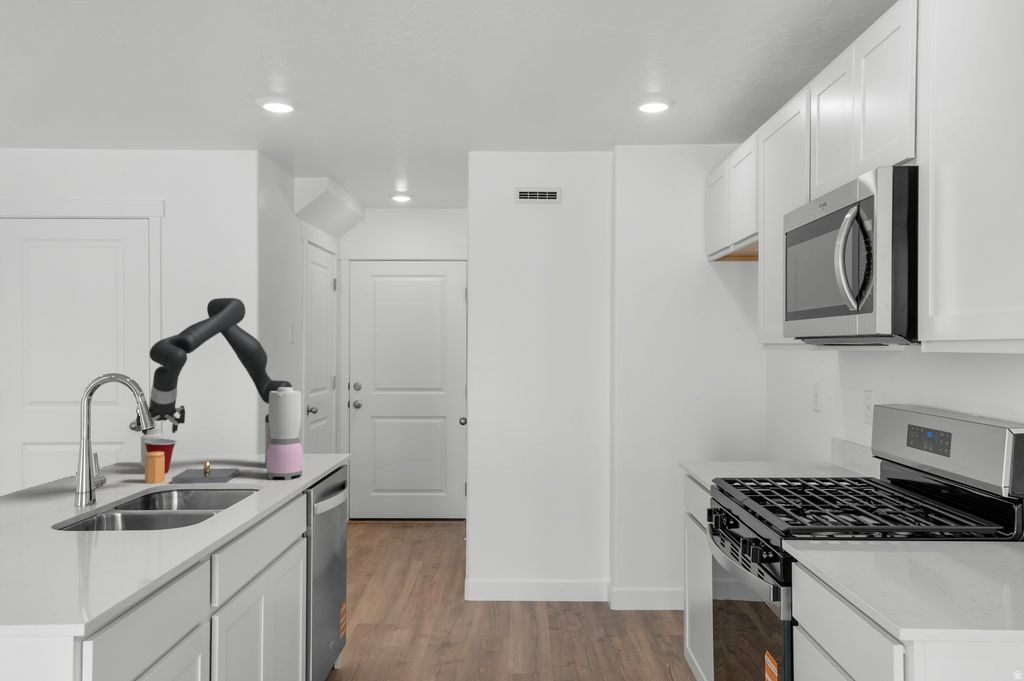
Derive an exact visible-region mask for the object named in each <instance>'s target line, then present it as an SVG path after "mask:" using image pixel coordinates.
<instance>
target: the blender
mask: <svg viewBox="0 0 1024 681" xmlns="http://www.w3.org/2000/svg"><path fill="white" fill-rule="evenodd" d="M302 404H303V403H302V392H301V391H300V390H294V387H293V386H292V387H281V388H278V391H271V392H270V393H269V404H268V414H269V427H270V432H271V442H270V444H269V446H268V449H267V467H266V475H267V478H268V480H271V481H272V480H274V477H275V478H276V477H277V478H279V477H280V478H282V477H283V478H284V480H285V481H290V480H291V479H292V477H294V476H302V474H303V446H302V443H301V442H300V437H299V436H300V431H301V424H302V410H303V408H302Z"/></svg>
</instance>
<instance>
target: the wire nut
mask: <svg viewBox="0 0 1024 681" xmlns="http://www.w3.org/2000/svg"><path fill="white" fill-rule="evenodd" d="M165 475H166V473H165V456H164V452H161V451H155V452H147V453H145V467H144V483H145V484H159V483H160V484H161V483H164V482H165Z"/></svg>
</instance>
